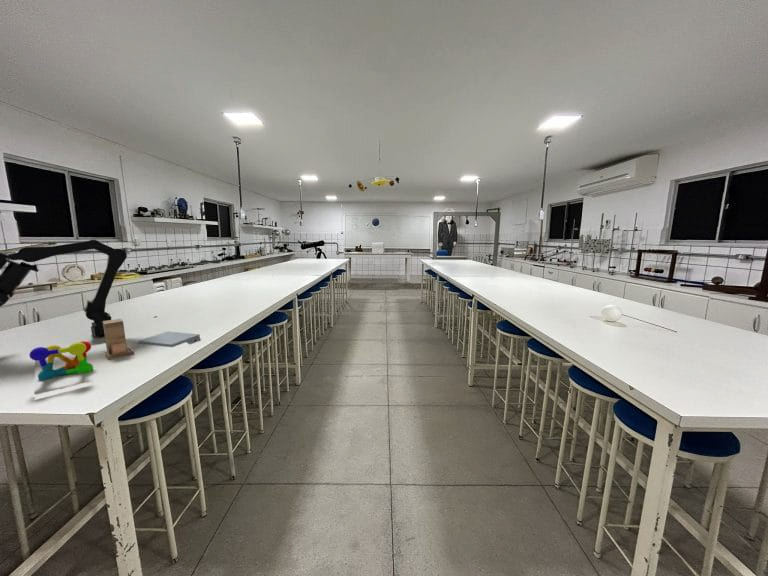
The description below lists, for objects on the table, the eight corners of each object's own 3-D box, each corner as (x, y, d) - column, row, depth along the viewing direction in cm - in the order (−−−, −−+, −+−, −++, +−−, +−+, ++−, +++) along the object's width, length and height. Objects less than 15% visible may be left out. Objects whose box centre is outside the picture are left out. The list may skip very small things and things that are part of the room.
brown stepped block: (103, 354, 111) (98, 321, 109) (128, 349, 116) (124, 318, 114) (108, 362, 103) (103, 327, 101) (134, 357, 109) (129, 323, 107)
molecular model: (73, 367, 101) (102, 330, 101) (80, 391, 94) (111, 352, 95) (8, 361, 88) (42, 319, 89) (11, 388, 82) (48, 343, 83)
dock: (137, 345, 120) (137, 340, 120) (168, 335, 133) (167, 331, 132) (171, 349, 116) (171, 344, 116) (200, 338, 129) (199, 334, 128)
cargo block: (112, 354, 108) (111, 345, 107) (125, 351, 110) (123, 342, 110) (114, 357, 105) (112, 347, 105) (126, 354, 108) (125, 344, 107)
